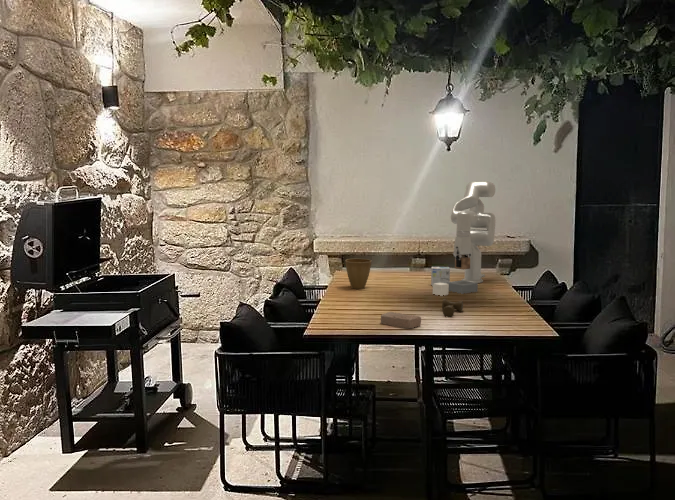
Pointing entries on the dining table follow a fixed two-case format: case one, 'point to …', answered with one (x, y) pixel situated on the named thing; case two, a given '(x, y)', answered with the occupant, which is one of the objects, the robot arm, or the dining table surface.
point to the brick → (400, 320)
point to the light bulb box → (440, 275)
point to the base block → (462, 286)
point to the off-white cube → (440, 289)
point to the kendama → (451, 307)
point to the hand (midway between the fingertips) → (462, 266)
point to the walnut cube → (464, 263)
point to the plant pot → (358, 272)
